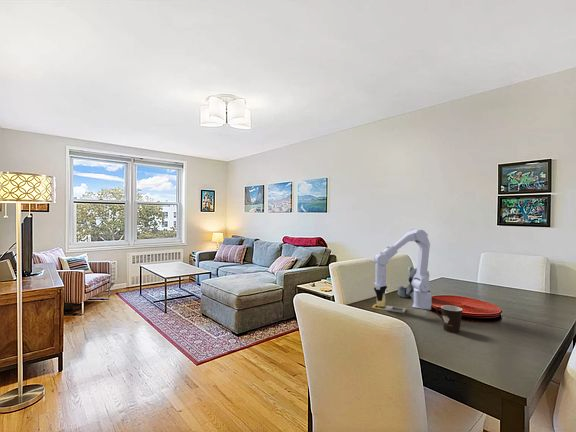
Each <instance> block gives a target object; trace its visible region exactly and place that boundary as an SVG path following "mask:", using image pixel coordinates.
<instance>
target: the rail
mask: <svg viewBox="0 0 576 432" xmlns="http://www.w3.org/2000/svg"><path fill="white" fill-rule="evenodd" d="M371 309H374V310H380V311H381V310H382V311H388V312H395V313H401V314H405V312H406V311H407V308H406V307H399V306H392V305H386V304H385V306H384V307H379V306H376V303H374V304H373V305H372V306H371Z"/></svg>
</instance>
